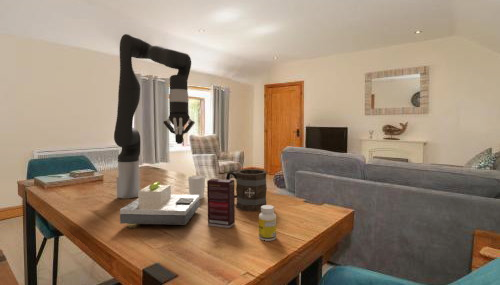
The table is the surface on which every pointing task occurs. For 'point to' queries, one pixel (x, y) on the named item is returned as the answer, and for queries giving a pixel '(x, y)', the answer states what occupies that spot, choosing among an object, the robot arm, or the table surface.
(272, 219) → the supplement bottle
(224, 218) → the supplement box
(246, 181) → the mug
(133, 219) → the grey tray
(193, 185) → the white cup
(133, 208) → the plate
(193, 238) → the table surface
